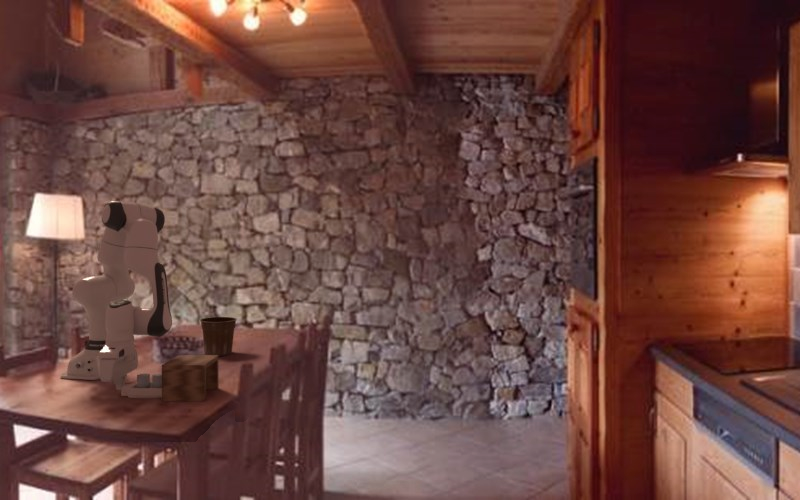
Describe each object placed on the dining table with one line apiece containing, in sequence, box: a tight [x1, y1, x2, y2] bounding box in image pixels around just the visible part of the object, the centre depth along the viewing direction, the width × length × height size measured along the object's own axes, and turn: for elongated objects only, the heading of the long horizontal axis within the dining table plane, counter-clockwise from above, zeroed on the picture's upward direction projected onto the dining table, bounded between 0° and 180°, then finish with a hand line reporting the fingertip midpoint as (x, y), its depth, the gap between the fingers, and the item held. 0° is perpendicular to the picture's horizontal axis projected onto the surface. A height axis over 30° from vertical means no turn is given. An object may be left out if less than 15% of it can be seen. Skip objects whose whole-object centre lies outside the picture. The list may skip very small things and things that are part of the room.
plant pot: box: [199, 316, 238, 357], centre depth 263 cm, size 16×16×16 cm
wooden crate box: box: [161, 354, 220, 402], centre depth 196 cm, size 14×16×12 cm
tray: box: [120, 373, 162, 399], centre depth 195 cm, size 19×8×7 cm, turn 91°
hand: (120, 388), depth 195 cm, fingers closed, pressing on tray
